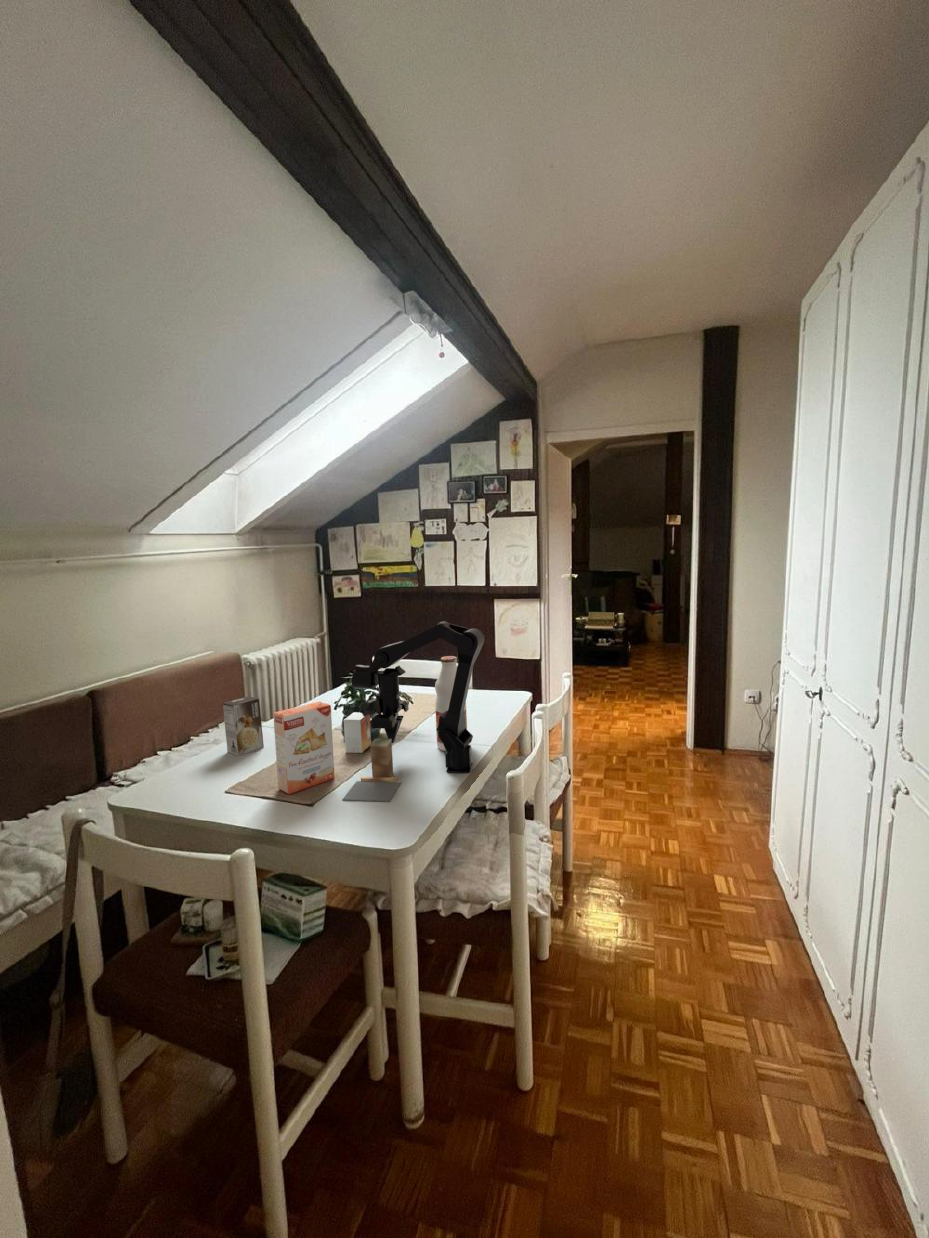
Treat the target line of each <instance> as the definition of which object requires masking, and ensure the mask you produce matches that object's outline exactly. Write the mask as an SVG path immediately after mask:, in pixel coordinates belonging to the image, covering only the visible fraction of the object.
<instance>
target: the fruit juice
mask: <svg viewBox="0 0 929 1238" xmlns="http://www.w3.org/2000/svg"><path fill="white" fill-rule="evenodd" d="M440 664H441V669H440V673H439V676H438V678H437V679H436V681H435V685H434V690H435V693H436V699H435V705H434V707H435V710H434V711H435V727H436V729H437V728H438V725H439V717H440V716H441V715H442V714H443V713H444V712H445V711H448V709H449V704H450V699H451V694H452V690H453V685H454V680H455V675H456V671H457V666H458V665H457V664H458V657H457V656H454V655H447V656H442V657H440ZM464 715H465V728H466V729H467V730H468V721H467V720H468V719H467V702H466V703H465V707H464ZM435 731H436V730H435ZM438 731H439V730H438ZM438 731H436V747H437V748H438V749H439V750H440V751H444V752H446V749H445V747H444V744H443V742H442V741H441V740H440V739H439V737H438Z"/></svg>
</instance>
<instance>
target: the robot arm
mask: <svg viewBox="0 0 929 1238" xmlns="http://www.w3.org/2000/svg"><path fill="white" fill-rule="evenodd" d="M438 639H442V640H444V641H446V642H447V643H449V645H452V646H455V647H456V655H457V656H456V657H457V665H456V666H457V671H456V675H455V680H454V685H453V690H452V694H451V699H450V704H449V709H448V711H445V712H444V713H443V714H442V715H441V716H440V717H439V725H438V728H437V729H436V730H435V731H438V730H439V731H438V737H439V739H440V740H441V741H442V742H443V744H444V747H445V749H446V751H445V753H444V755H445V757H444V758H445V760H444V761H445V768H446V773H466V774H467V773H471V770H472V768H473V765H474V763H473V762H472V745H471V743H472V741H473V738H474V735H473V734H472V733H471V732H470V731H469V730H468V728H467V729H466V728H465V715H464V707H465V703H466V704H467V698H468V693H469V689H470V684H471V678H472V675H473V672H474V671H473V670H474V665H475V662H476V661H477V658H478V656H479V655H480V652H481V650H482V647H483V646H484V643H485V635H484V634H483V631H481V630H480V629H478V628H467V627H465V626H461V625H456V624H453V623H451V622H450V623H449V622H448V621H440V622H438V623H436V624H435V625H434V626H432V627H430V628H428V629H425V630H423V631H422V632H419V633H417V634H415V635H414V636H412V637H409V638H407V639H405V640H401V641H398V642H394V643H391V644H387V645H385V646H382V647H380V648H378V649H376V650H375V652H374V654H373V660H372V662H371V663H370V665H363V664H356V665H355V666H354V670H353V672H352V676H351V678H350V679H351V686H352V687H353V689H355V690H358V689H359V690H374V689H376V688H377V687H378V694H377V695H376V696H375V698H372V699H369V700H366V701H364V702H363V701H362V702H360V704H359V706H358V709H359V710H358V712H360V713H362V714H363V716H367V715H368V714H369V715H370V714H373V713H375V714H376V715H374V716H373V717H372V718H371V719H370V729H383V730H384V733H385V735H386V736H387V739H392V744H394V743H395V741H396V738H397V735H398V733H399V729H400V727H401V724H402V722H403V719H404V715H400V713H399V712H400V711H401V710H403V712H404V713H407V712H408V711H409V702H408V701H406V700H400V697H401V695H402V691H401V690H400V683H399V682H400V680H399V679H400V677H399V676H402V675H404V674H406V670H405V669H404V668H402V667H401V666H400V665H397V666H395V668H393V667H392V666H394V665H395V664H398V662H400V661H401V660H403V659H404V658H405V657H406V656H407V655H409V654H410V653H411V652H414V651H416V650H418V649H420V648H422V647H424V646H427V645H428V644H431V643H432V642H435V641H437V640H438ZM381 669H384V670H381Z"/></svg>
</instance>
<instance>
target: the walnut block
mask: <svg viewBox="0 0 929 1238" xmlns="http://www.w3.org/2000/svg"><path fill="white" fill-rule="evenodd" d="M392 744H393V743H392V739H388V738H374V739H373V741H371V744H370V757H371V774H372V776H371V777H387V778H393V775H394V763H393V762H394V761H393V760H394V759H393V745H392Z"/></svg>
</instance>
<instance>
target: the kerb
mask: <svg viewBox="0 0 929 1238" xmlns="http://www.w3.org/2000/svg"><path fill="white" fill-rule="evenodd" d="M360 781H370V782H399V777H391V778H387V777H372V776H361V777H360Z"/></svg>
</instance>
